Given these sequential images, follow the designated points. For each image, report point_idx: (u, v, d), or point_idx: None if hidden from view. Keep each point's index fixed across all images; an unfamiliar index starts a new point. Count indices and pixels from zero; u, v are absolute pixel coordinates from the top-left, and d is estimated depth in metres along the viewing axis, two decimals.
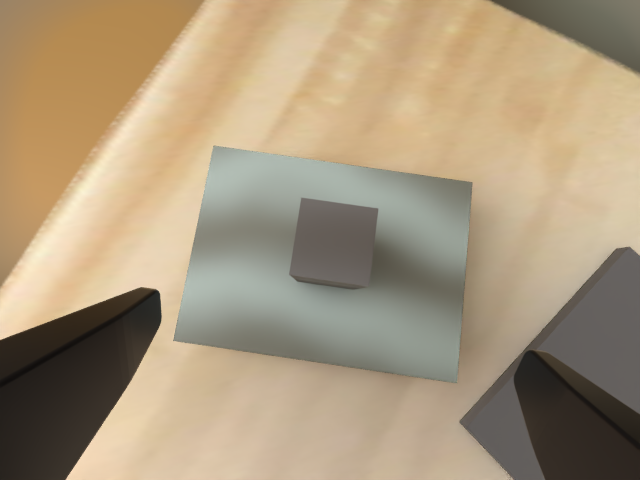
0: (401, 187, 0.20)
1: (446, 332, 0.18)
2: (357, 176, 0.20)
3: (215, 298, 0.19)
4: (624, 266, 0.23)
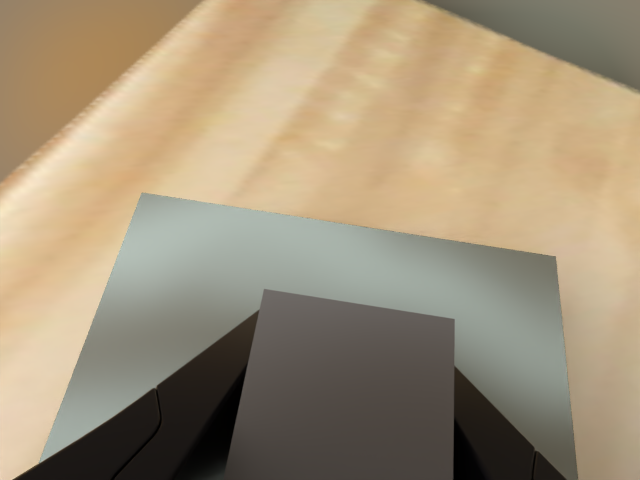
0: (443, 263, 0.12)
1: None
2: (371, 244, 0.12)
3: None
4: None
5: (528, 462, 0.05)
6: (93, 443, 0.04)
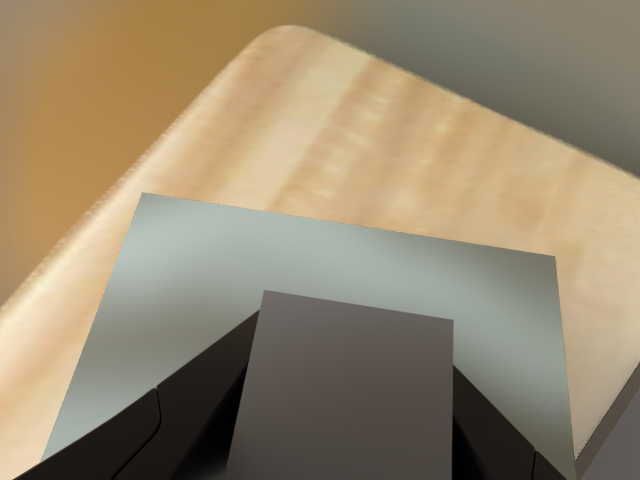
0: (443, 263, 0.12)
1: None
2: (371, 244, 0.12)
3: None
4: None
5: (528, 462, 0.05)
6: (93, 443, 0.04)
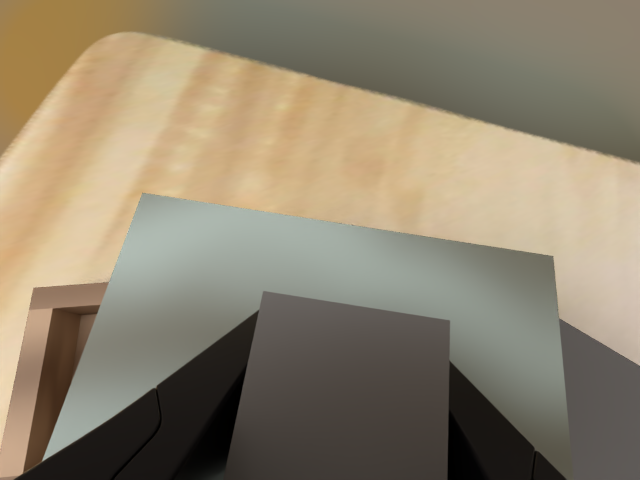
0: (441, 262, 0.12)
1: None
2: (370, 244, 0.12)
3: None
4: None
5: (528, 462, 0.05)
6: (93, 443, 0.04)
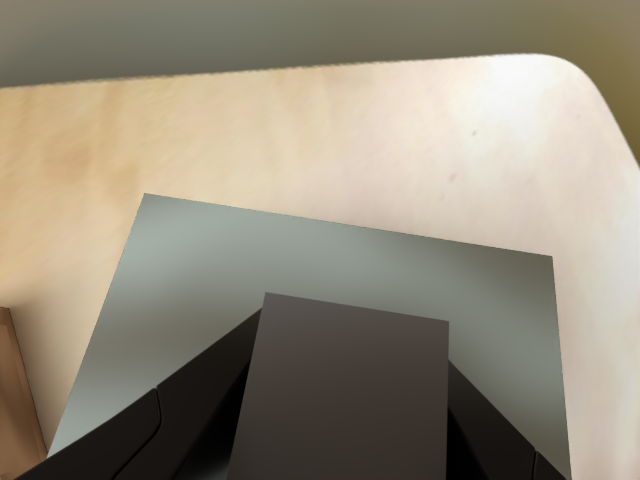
0: (441, 262, 0.12)
1: None
2: (370, 244, 0.12)
3: None
4: None
5: (528, 462, 0.05)
6: (93, 443, 0.04)
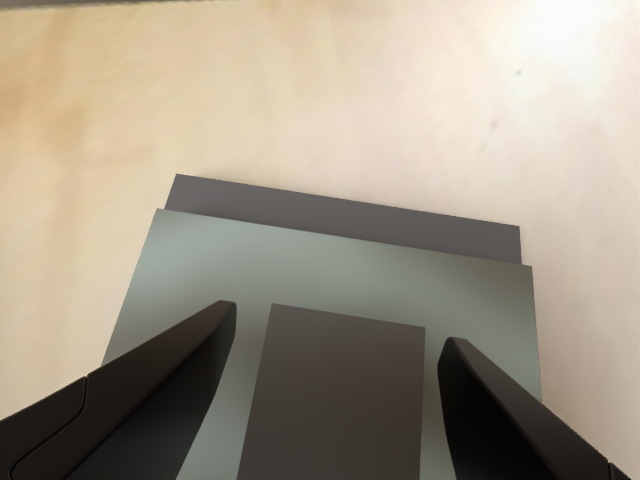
0: (430, 272, 0.13)
1: None
2: (365, 255, 0.13)
3: None
4: (180, 199, 0.16)
5: (605, 475, 0.05)
6: (6, 428, 0.04)
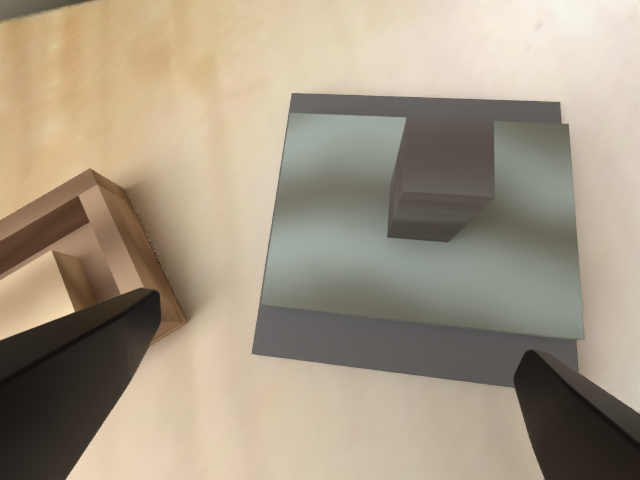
0: None
1: (562, 283, 0.16)
2: None
3: (301, 259, 0.18)
4: (298, 110, 0.22)
5: None
6: None
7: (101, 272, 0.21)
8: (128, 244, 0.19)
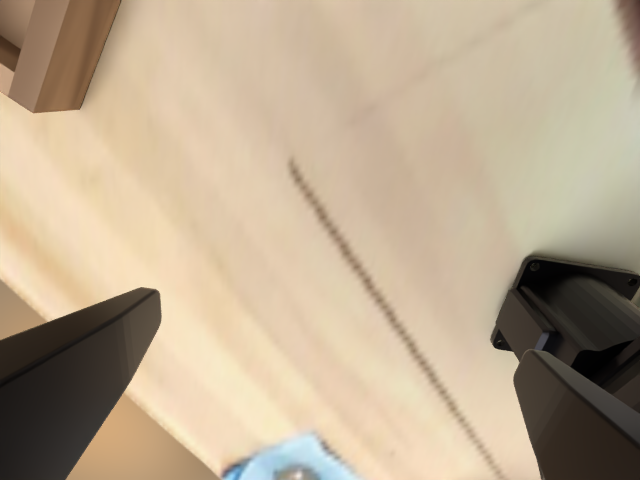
0: None
1: None
2: None
3: None
4: None
5: None
6: None
7: None
8: None
